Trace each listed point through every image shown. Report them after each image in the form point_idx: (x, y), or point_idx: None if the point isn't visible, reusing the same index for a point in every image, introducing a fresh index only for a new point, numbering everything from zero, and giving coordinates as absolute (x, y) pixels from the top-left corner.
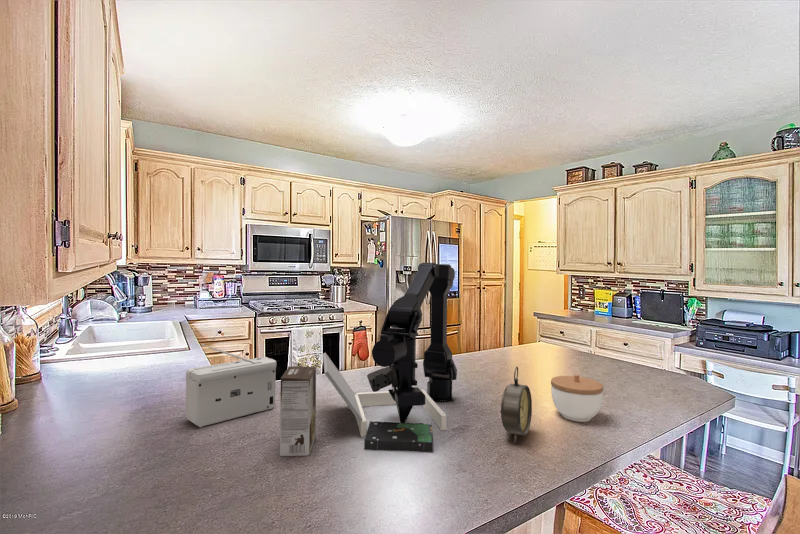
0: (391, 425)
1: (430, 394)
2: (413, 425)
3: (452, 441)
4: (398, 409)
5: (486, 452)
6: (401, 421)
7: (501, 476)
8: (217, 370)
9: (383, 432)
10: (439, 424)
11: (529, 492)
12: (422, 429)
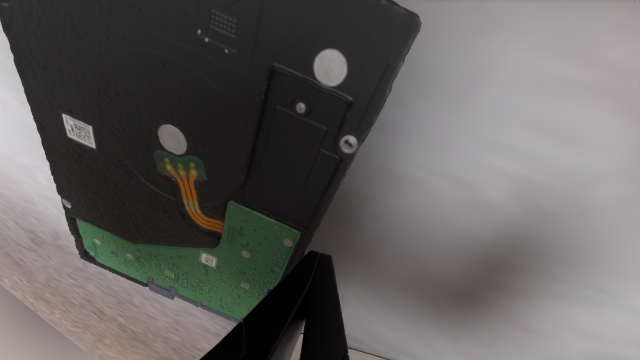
0: (284, 187)
1: None
2: (249, 281)
3: None
4: (253, 336)
5: (140, 322)
6: (303, 261)
7: (42, 283)
8: None
9: (134, 80)
10: (296, 348)
11: (5, 283)
12: (199, 287)
